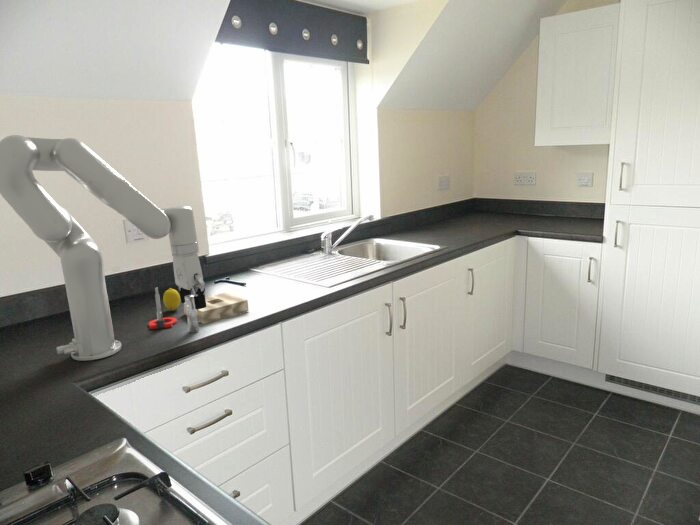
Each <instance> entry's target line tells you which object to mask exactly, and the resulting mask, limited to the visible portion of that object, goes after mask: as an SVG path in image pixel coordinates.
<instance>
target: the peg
mask: <svg viewBox="0 0 700 525" xmlns="http://www.w3.org/2000/svg"><path fill="white" fill-rule="evenodd" d="M194 296H195V295H194V294H191V295H187V296H185V304H186V313H187V315H186V318H187V319H186V320H187V326H188V327H187V329H188V333H190V334H195V333H198V331H200V325H199V321H198V315H197V310H196V309H195V303H194Z"/></svg>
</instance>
